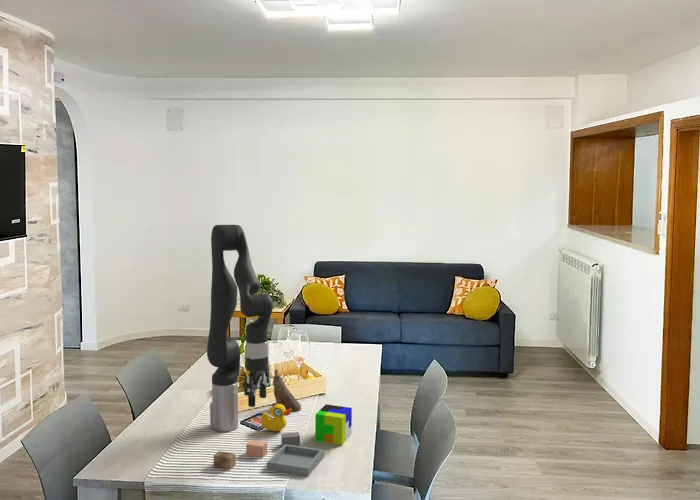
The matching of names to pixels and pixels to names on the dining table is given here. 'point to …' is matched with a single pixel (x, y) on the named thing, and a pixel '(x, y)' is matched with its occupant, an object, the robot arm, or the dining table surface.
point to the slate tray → (295, 460)
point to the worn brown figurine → (284, 394)
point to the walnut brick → (224, 460)
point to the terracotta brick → (256, 448)
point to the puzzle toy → (333, 424)
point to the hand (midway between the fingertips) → (257, 401)
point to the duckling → (275, 418)
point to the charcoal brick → (290, 439)
